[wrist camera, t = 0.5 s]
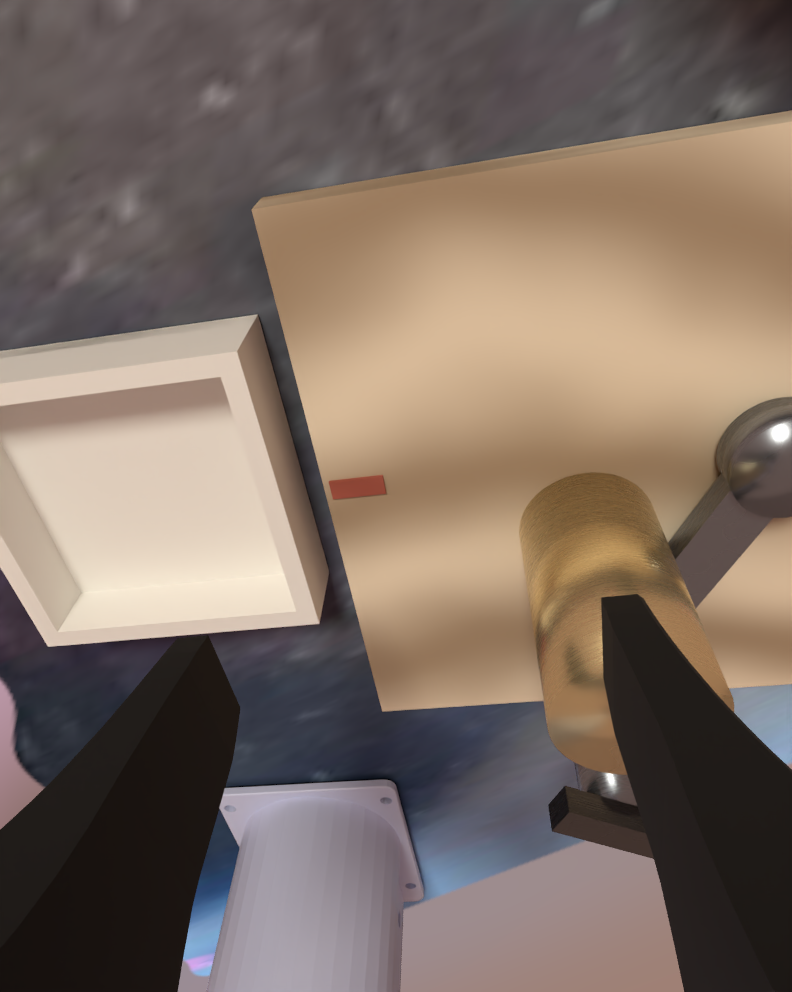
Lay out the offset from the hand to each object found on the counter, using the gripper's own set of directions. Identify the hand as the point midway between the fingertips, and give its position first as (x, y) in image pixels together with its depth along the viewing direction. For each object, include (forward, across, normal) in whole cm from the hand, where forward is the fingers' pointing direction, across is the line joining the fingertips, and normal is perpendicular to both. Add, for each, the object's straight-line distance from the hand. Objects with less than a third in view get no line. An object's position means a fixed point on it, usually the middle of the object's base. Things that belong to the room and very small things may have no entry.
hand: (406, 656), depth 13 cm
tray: (+10, +8, +1) cm, 13 cm away
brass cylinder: (+8, -4, +4) cm, 10 cm away
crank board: (+10, -5, +3) cm, 11 cm away
